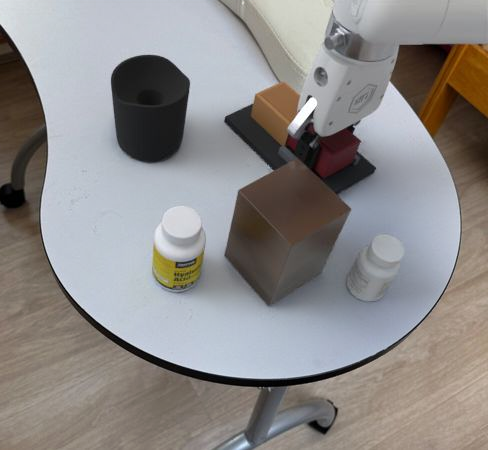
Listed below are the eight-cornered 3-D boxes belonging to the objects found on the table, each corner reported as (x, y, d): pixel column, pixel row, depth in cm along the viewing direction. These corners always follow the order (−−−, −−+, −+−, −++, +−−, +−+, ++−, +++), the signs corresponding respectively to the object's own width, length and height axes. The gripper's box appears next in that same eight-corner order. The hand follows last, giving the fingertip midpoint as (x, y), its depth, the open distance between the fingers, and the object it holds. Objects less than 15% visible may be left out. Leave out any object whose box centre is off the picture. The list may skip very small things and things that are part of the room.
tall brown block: (321, 272, 67) (352, 208, 57) (268, 307, 64) (291, 246, 54) (276, 225, 71) (297, 157, 61) (223, 255, 67) (237, 189, 58)
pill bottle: (384, 273, 68) (408, 234, 61) (384, 306, 65) (410, 269, 59) (346, 265, 68) (366, 226, 62) (344, 298, 65) (366, 260, 59)
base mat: (374, 173, 77) (379, 161, 75) (313, 209, 72) (317, 198, 71) (283, 93, 85) (287, 81, 83) (224, 121, 80) (226, 109, 79)
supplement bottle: (172, 302, 63) (176, 253, 56) (142, 268, 66) (142, 215, 58) (210, 276, 66) (219, 225, 58) (180, 244, 68) (185, 191, 60)
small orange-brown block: (311, 133, 79) (319, 110, 75) (284, 148, 77) (290, 125, 74) (278, 103, 82) (283, 79, 79) (250, 116, 80) (255, 92, 77)
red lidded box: (352, 162, 75) (362, 140, 71) (323, 178, 73) (332, 156, 69) (314, 129, 78) (322, 106, 75) (286, 144, 76) (293, 120, 73)
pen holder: (188, 118, 80) (193, 59, 72) (181, 169, 75) (185, 111, 67) (120, 110, 80) (118, 50, 72) (108, 161, 75) (104, 102, 67)
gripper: (329, 80, 55) (290, 200, 70) (444, 25, 62) (386, 144, 77) (278, 38, 59) (250, 160, 74) (392, -11, 65) (346, 110, 80)
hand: (320, 151), depth 75 cm, fingers closed on red lidded box, 4 cm apart
